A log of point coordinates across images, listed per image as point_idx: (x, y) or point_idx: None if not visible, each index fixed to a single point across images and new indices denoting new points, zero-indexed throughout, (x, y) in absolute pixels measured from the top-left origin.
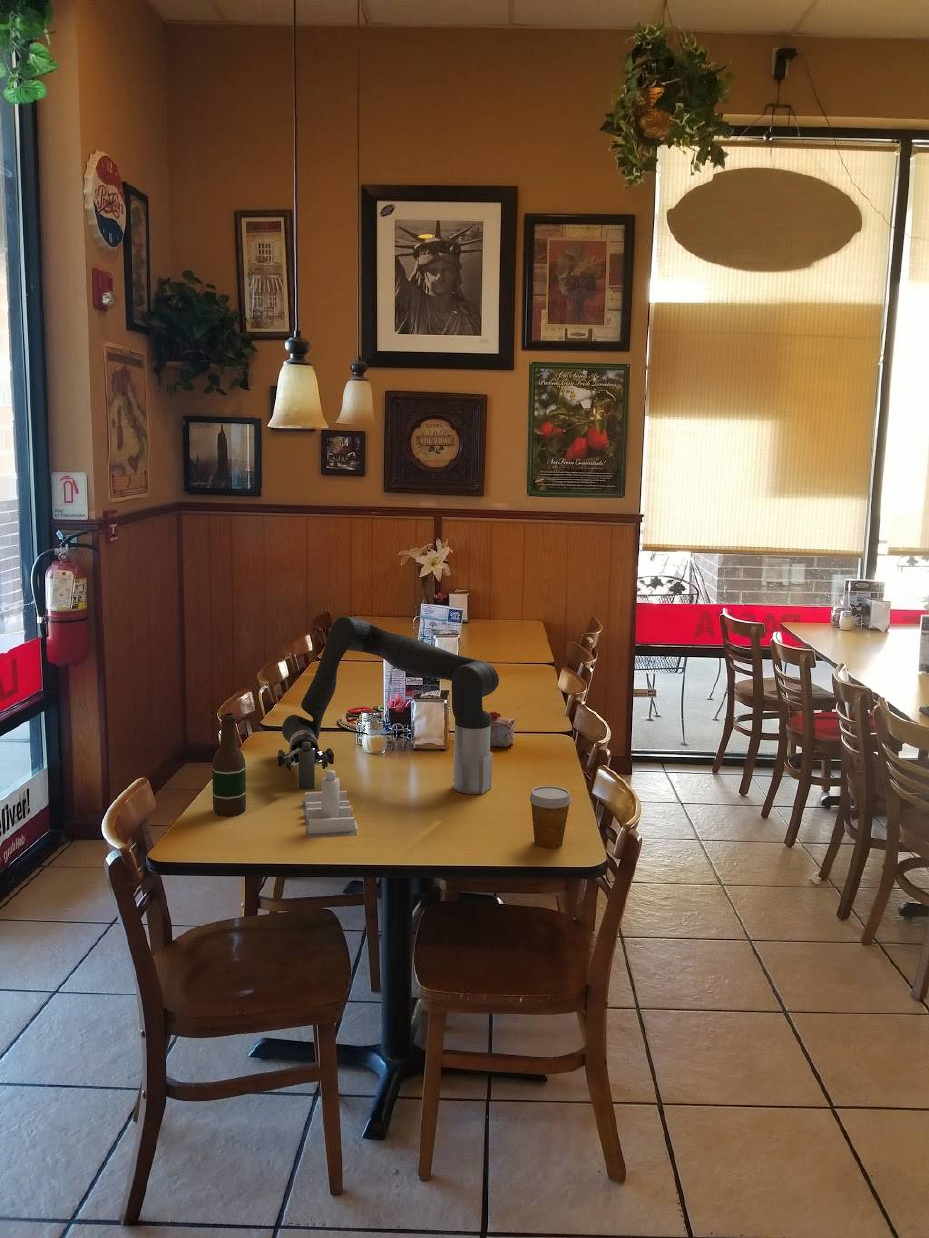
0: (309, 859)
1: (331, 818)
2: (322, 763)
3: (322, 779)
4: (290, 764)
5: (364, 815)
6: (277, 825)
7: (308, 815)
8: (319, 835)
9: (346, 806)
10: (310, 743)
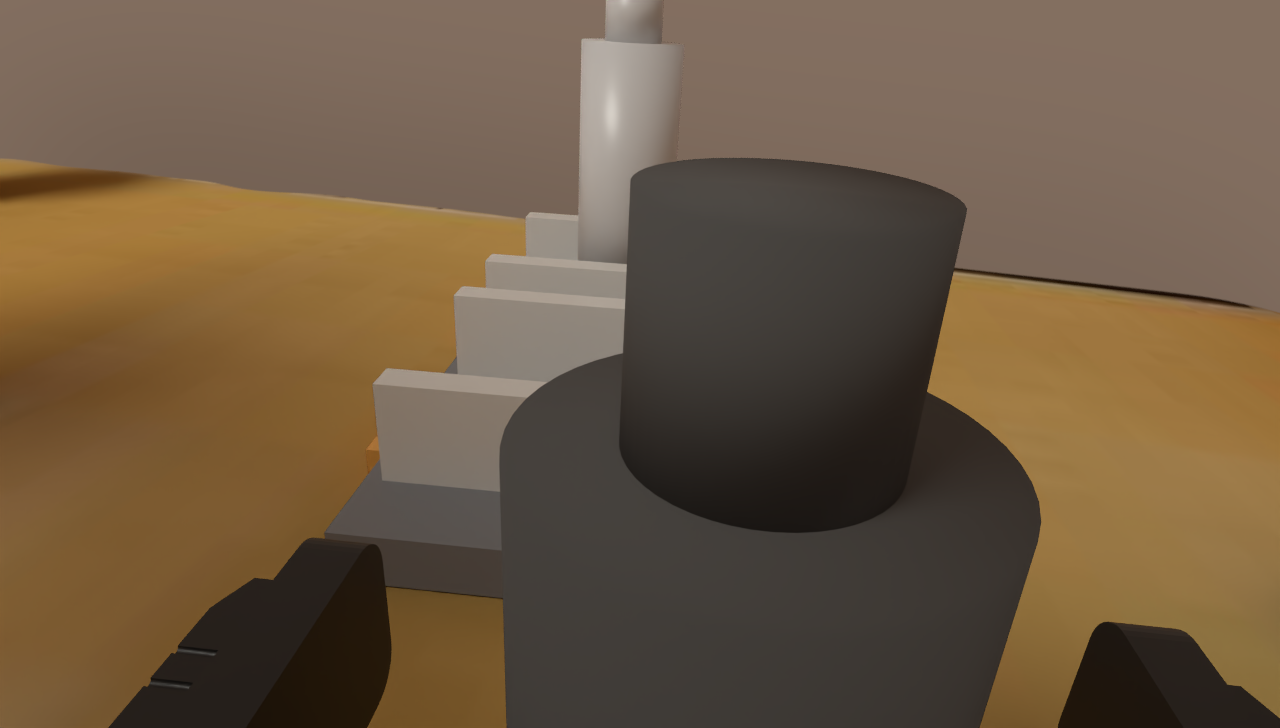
0: None
1: None
2: (358, 633)
3: (678, 45)
4: (1100, 640)
5: (339, 423)
6: None
7: None
8: None
9: (511, 262)
10: (660, 165)
